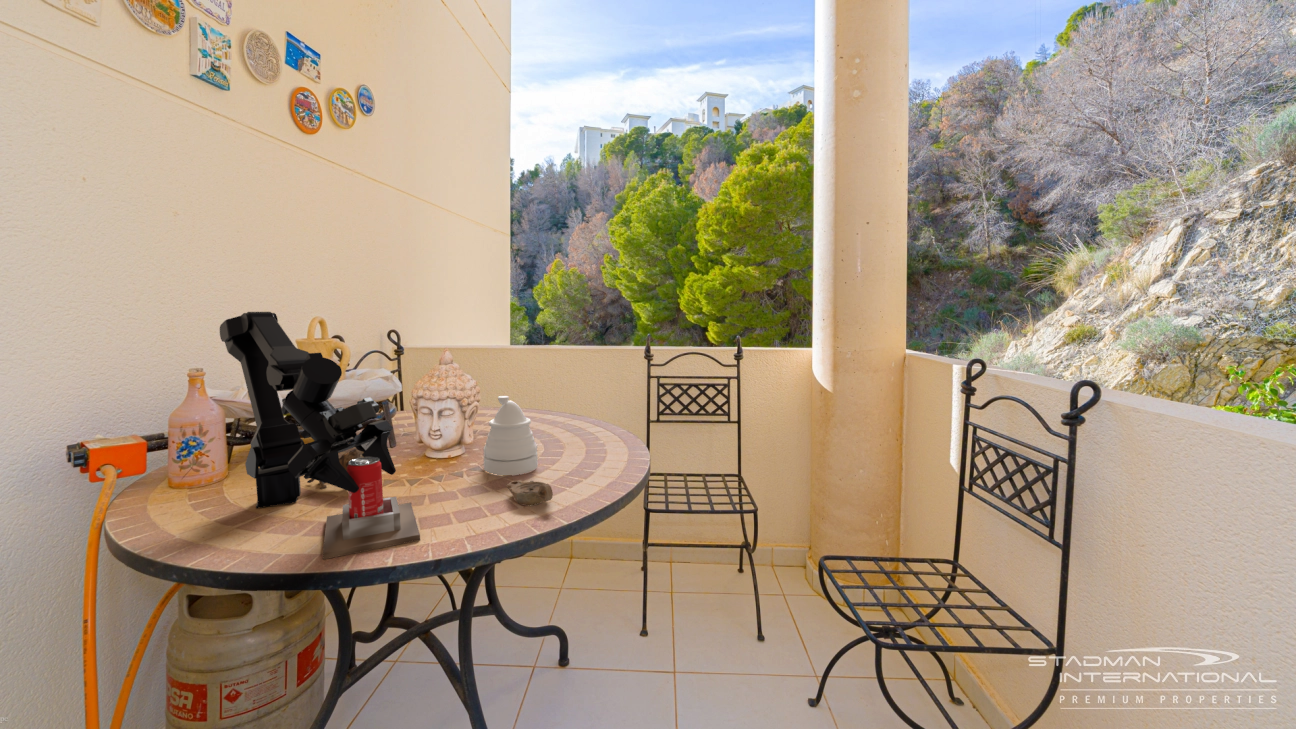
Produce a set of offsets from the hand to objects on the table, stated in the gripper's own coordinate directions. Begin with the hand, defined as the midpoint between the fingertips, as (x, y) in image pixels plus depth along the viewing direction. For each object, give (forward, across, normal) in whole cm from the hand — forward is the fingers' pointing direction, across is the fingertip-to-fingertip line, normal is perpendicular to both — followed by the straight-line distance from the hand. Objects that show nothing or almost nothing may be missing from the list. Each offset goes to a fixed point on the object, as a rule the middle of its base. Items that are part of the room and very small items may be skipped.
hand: (376, 481), depth 89 cm
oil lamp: (+21, +19, -8) cm, 29 cm away
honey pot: (+12, +38, +2) cm, 40 cm away
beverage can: (+5, -1, +7) cm, 8 cm away
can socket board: (+5, 0, +7) cm, 9 cm away
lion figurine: (-10, +18, +23) cm, 31 cm away
